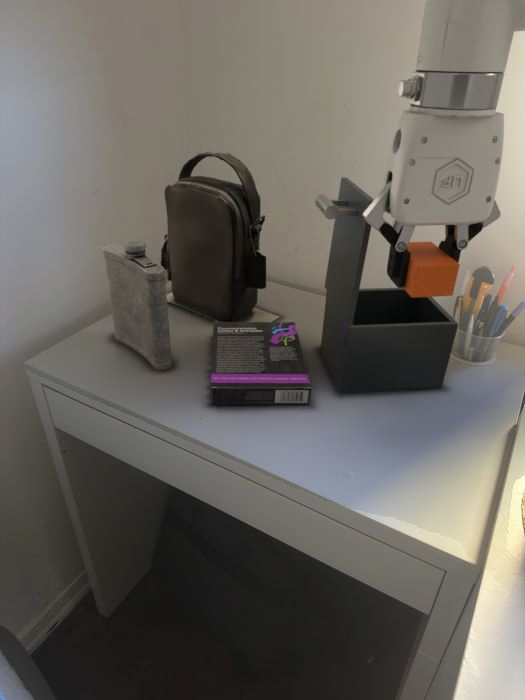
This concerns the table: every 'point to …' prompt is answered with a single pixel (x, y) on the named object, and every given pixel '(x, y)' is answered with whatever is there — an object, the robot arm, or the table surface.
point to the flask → (138, 301)
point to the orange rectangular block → (430, 271)
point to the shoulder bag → (215, 244)
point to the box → (258, 364)
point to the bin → (388, 342)
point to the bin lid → (346, 245)
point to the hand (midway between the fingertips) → (419, 280)
